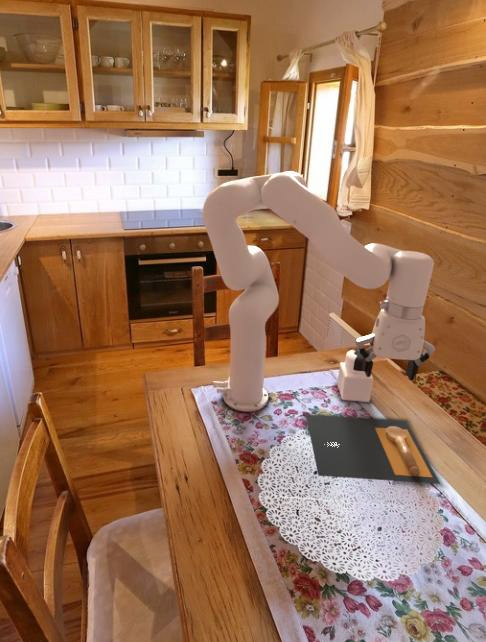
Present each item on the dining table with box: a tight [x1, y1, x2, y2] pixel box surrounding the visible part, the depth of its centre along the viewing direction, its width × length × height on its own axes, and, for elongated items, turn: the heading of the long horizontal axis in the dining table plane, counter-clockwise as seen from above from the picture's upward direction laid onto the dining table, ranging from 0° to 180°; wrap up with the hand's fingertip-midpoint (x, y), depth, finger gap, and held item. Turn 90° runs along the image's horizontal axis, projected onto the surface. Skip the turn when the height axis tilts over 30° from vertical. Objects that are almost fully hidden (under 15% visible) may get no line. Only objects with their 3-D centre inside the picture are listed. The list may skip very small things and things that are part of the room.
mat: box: [305, 414, 441, 485], centre depth 98 cm, size 26×20×1 cm
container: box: [336, 349, 374, 403], centre depth 115 cm, size 8×8×13 cm
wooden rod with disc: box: [386, 426, 420, 476], centre depth 95 cm, size 15×5×2 cm, turn 176°
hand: (388, 375), depth 94 cm, fingers open, 9 cm apart
